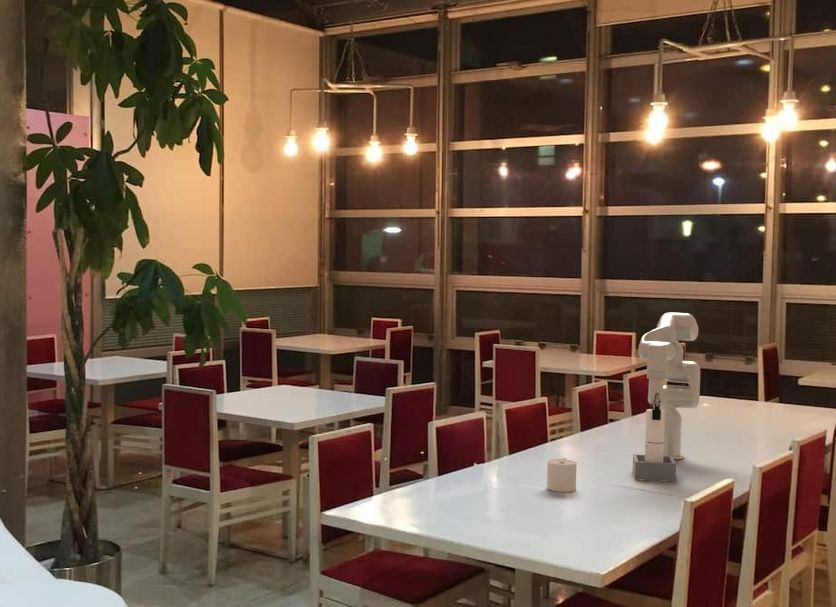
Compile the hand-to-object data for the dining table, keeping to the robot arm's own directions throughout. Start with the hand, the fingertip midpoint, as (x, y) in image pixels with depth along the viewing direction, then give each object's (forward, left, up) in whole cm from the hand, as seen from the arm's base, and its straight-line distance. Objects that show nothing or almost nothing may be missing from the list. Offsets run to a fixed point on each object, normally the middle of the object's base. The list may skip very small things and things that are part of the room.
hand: (655, 417), depth 376 cm
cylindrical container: (0, 0, -22) cm, 22 cm away
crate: (0, 0, -23) cm, 23 cm away
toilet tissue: (+30, -36, -24) cm, 52 cm away
